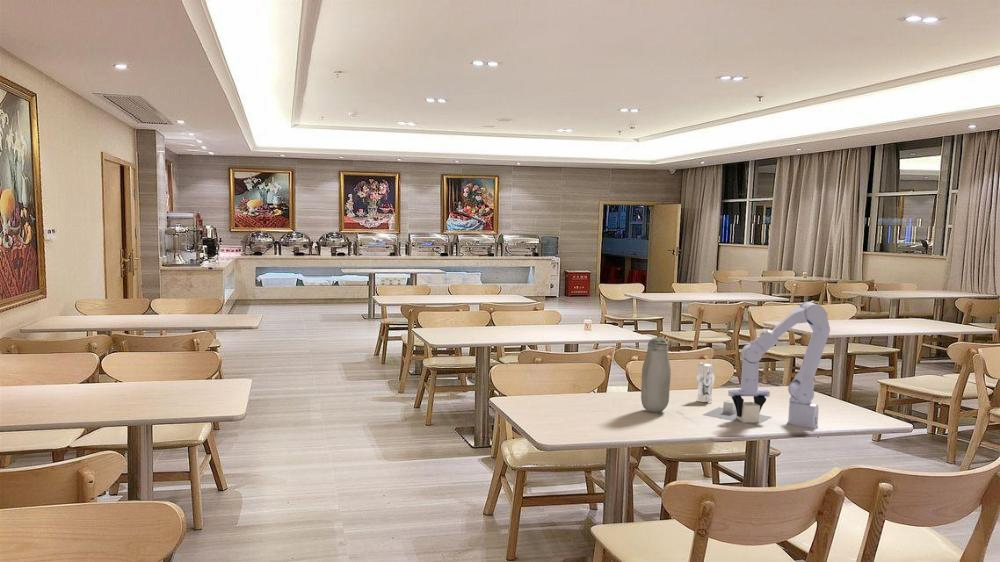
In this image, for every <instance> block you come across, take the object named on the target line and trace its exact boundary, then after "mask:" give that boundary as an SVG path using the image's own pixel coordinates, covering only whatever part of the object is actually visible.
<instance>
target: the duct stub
mask: <svg viewBox="0 0 1000 562" xmlns="http://www.w3.org/2000/svg"><path fill="white" fill-rule="evenodd" d="M722 406H723V407H722V408H723V412H724V413H729V414H734V413H736V407H735V404H734V402H733V400H728V399H727V400H724V401H723V405H722Z"/></svg>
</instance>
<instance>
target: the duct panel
mask: <svg viewBox="0 0 1000 562" xmlns="http://www.w3.org/2000/svg"><path fill="white" fill-rule="evenodd" d="M736 413H737V412H736ZM736 413H734V414H729V413H724V412H723V407H720V406H719V407H717V408H714V409H712V410H710V411H708V412H705V413H704V414H702V416H706V417H712V418H717V419H721V420H727V421H732V422H738V423H743V424H748V425H752V426H759V425H760V424H761V425H762V423H764V422H766V421H768V420H769V419H772V416H770V415H765V414H764V415H763V414H759V422H742V421H740V420H739V419H737V418H736Z"/></svg>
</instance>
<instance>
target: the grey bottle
mask: <svg viewBox="0 0 1000 562" xmlns="http://www.w3.org/2000/svg"><path fill="white" fill-rule="evenodd" d="M671 371H672V369H671V363H670V357H669V342H668V341H667V340H666V339H665V338H664V337H659V336H658V337H652V338H650V339H649V341H648V342H647V350H646V354H645V358H644V361H643V364H642V368H641V388H640V389H641V391H640V399H641V404H642V407H643V409H645V411H648V412H650V413H654V412H655V413H660V412H661V413H662V412H663V411H664V410H665V409H666V408H667V407H668V404H669V401H670V390H671V389H670V388H671V386H670V385H671V378H672V377H671V375H672V374H671V373H672V372H671Z"/></svg>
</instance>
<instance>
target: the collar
mask: <svg viewBox="0 0 1000 562" xmlns="http://www.w3.org/2000/svg"><path fill="white" fill-rule="evenodd" d="M760 413H761V410H760V405H758V404H756V403H754V401H743V406H742V416H741V417H739V416H737V413H736V418H737V419H739V420H740V421H742V422H759V415H761V414H760ZM742 422H741V423H742Z"/></svg>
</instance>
